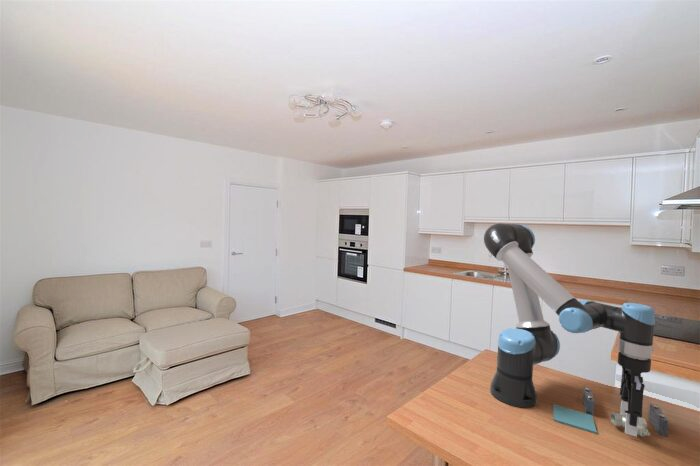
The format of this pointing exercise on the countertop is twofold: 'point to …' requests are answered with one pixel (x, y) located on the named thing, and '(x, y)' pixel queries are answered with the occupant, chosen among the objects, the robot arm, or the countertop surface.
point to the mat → (574, 418)
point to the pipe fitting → (621, 420)
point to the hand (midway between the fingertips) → (627, 428)
